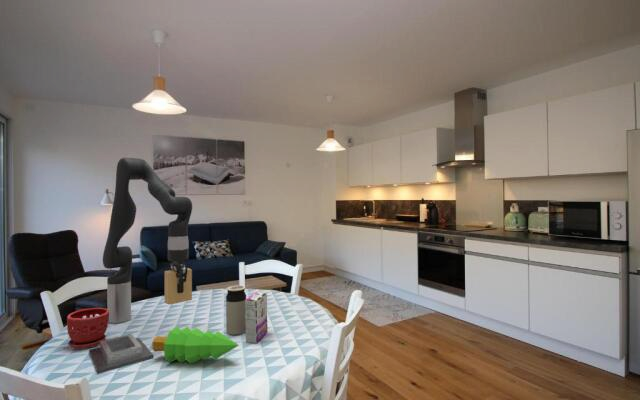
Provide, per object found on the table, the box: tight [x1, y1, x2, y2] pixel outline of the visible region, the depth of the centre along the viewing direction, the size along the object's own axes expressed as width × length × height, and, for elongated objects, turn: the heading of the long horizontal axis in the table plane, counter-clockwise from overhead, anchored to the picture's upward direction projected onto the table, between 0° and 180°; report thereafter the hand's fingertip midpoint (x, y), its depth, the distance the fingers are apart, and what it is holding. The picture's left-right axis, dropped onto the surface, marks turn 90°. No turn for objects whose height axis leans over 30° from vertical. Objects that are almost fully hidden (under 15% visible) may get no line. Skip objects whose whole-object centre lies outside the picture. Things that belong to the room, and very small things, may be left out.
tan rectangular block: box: [164, 267, 193, 305], centre depth 131 cm, size 4×9×12 cm, turn 131°
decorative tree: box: [152, 326, 240, 365], centre depth 111 cm, size 11×12×30 cm
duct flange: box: [88, 333, 154, 375], centre depth 116 cm, size 20×16×4 cm
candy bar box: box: [245, 291, 268, 344], centre depth 130 cm, size 11×5×16 cm, turn 168°
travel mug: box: [225, 285, 247, 336], centre depth 137 cm, size 8×8×18 cm
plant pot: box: [66, 307, 109, 350], centre depth 126 cm, size 13×13×12 cm
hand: (178, 291), depth 131 cm, fingers closed on tan rectangular block, 4 cm apart
